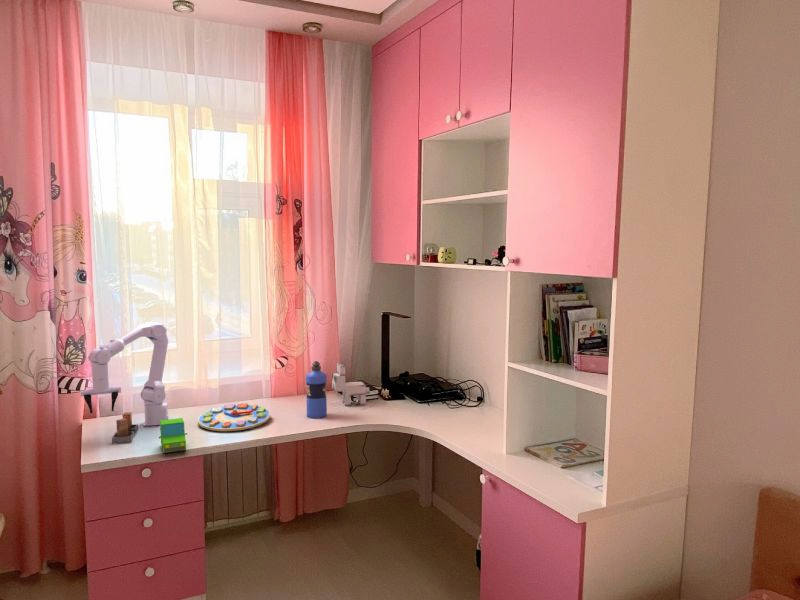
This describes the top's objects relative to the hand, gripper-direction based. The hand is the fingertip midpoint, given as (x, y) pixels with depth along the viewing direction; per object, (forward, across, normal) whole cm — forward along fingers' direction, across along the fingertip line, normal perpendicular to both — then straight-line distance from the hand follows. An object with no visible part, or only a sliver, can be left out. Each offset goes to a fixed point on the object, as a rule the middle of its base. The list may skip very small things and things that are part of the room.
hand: (102, 411), depth 245 cm
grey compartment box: (+10, -8, +4) cm, 14 cm away
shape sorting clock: (+11, -52, +2) cm, 53 cm away
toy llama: (+11, -109, -6) cm, 110 cm away
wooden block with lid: (+9, -7, +8) cm, 14 cm away
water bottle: (+11, -87, +7) cm, 88 cm away
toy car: (+11, -25, +28) cm, 39 cm away
